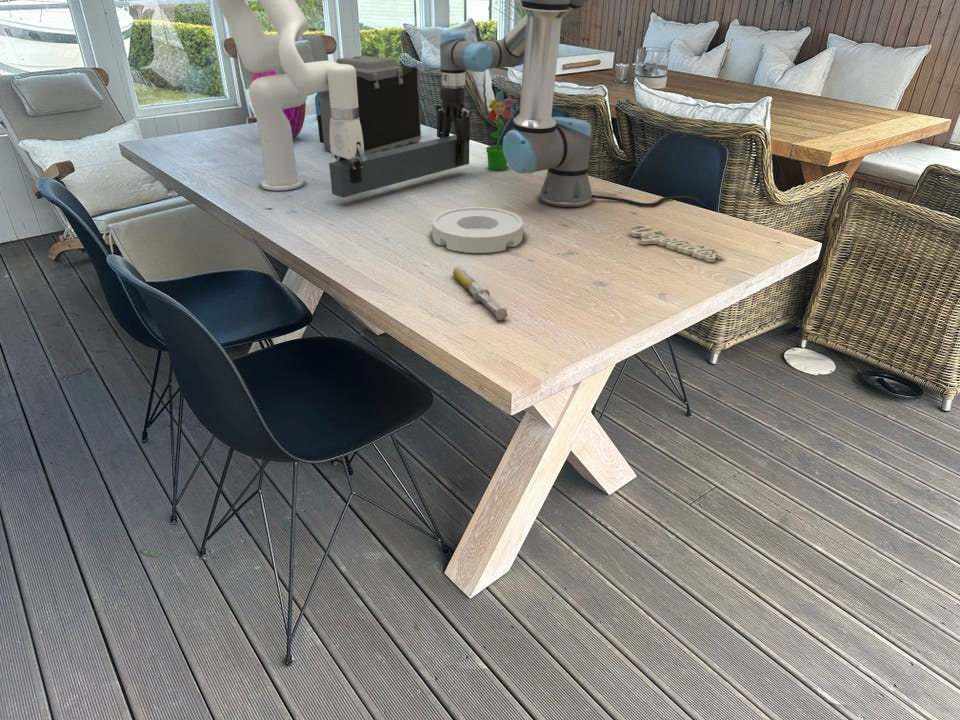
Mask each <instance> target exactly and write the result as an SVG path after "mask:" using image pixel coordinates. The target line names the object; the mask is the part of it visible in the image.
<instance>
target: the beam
mask: <svg viewBox="0 0 960 720" xmlns="http://www.w3.org/2000/svg"><path fill="white" fill-rule="evenodd" d="M456 143H457V137H456V134H453V135H449V136H448V137H443V138H435V139H431V140H425V141H422V142H416V143H411V144H409V145H408V144H407V145H406V146H402V147H401V146H398V147H395V148H394V149H390V150H382V151H381V152H377V153H370V154H368V155H365V156H366V161H365V162H364V163H363V165H362V168H361V177H362V181H361V182H358V183H354V184H353V183H352V182H351V169H352V166H351V162H350V159H346V160H341V161H337V160H336V161H337V162H336V161H333V162H329V163H328V167H329V175H330V185H331V186H330V188H331V194H332V195H334V196H337V197H339V198H342V199H344V198H348V197H351V196H354V195H358V194H363V193H366V192H370V191H373V190H377V189H381V188H385V187H389V186H392V185H395V184H399V183H403V182H407V181H411V180H414V179H419V178H422V177H425V176H430V175H433V174H437V173H441V172H444V171H448V170H452V169H455V168H459V167H464V166H467V165H469V164H470V142H469V143H465V145H464V154H463V164H461V165H456ZM356 161H357V160H356V159H355V160H354V162H355V163H356Z"/></svg>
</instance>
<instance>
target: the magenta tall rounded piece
mask: <svg viewBox="0 0 960 720" xmlns="http://www.w3.org/2000/svg"><path fill="white" fill-rule="evenodd" d="M271 75H277V73H276V71H268V72H261V73H253V72H252V77H251V83H252V82H253V81H254V80H256V79H258V78H260V77H264V76H271ZM306 102H307V100H306V101H305V103H304V104H302V105H300V106H297V107H292V108H287V109H284V110H283V113H284V114H285V116H286V117H287V119H288V120H289V122H290V125H291V130H292V137H293V139H296V138H297V137H298V136H299V134H301V131H302V129H303V127H304V123H305V118H306V104H307V103H306Z"/></svg>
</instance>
